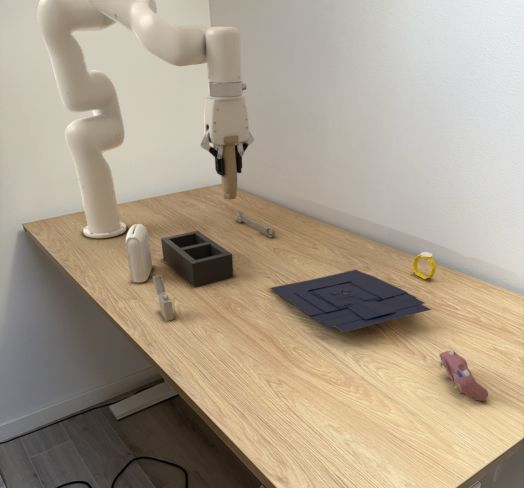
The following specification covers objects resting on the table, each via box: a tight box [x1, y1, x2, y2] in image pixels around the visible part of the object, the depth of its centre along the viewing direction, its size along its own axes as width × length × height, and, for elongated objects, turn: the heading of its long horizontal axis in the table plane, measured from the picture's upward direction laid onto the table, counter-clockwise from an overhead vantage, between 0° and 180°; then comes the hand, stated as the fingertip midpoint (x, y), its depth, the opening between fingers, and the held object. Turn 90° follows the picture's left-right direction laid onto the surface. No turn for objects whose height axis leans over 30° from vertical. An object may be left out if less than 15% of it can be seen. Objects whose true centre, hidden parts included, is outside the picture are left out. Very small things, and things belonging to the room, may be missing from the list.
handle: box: [221, 136, 238, 201], centre depth 125 cm, size 5×6×15 cm
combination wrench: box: [235, 209, 276, 238], centre depth 154 cm, size 4×1×20 cm
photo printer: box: [125, 223, 153, 283], centre depth 125 cm, size 10×4×12 cm, turn 2°
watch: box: [412, 251, 437, 280], centre depth 123 cm, size 6×3×6 cm, turn 33°
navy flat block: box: [269, 269, 432, 333], centre depth 112 cm, size 24×30×4 cm
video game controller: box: [438, 349, 489, 402], centre depth 86 cm, size 10×5×7 cm, turn 5°
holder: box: [160, 230, 234, 288], centre depth 130 cm, size 20×11×6 cm, turn 31°
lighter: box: [152, 274, 175, 322], centre depth 109 cm, size 7×2×8 cm, turn 26°
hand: (229, 172), depth 126 cm, fingers closed on handle, 3 cm apart
